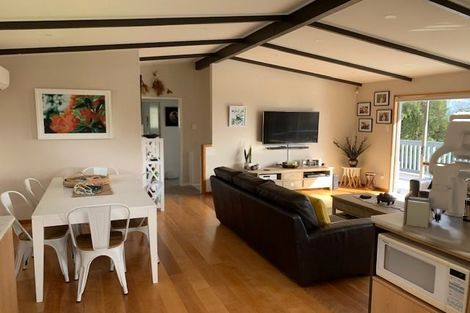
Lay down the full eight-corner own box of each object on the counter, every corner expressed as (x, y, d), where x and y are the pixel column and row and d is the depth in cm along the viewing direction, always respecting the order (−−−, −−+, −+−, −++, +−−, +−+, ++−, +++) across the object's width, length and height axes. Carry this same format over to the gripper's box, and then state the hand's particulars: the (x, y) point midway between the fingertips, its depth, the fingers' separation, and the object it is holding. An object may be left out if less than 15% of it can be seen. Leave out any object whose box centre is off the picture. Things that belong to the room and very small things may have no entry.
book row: (407, 222, 189) (409, 197, 187) (428, 225, 183) (430, 199, 181) (406, 224, 184) (407, 198, 183) (427, 228, 178) (429, 201, 177)
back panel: (408, 216, 200) (410, 190, 199) (410, 216, 200) (412, 191, 198) (403, 224, 185) (404, 196, 183) (405, 224, 184) (406, 197, 183)
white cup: (427, 223, 183) (420, 205, 183) (416, 222, 190) (410, 205, 191) (438, 218, 185) (432, 200, 185) (427, 217, 192) (421, 200, 193)
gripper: (456, 188, 182) (454, 222, 183) (424, 185, 190) (422, 217, 192) (456, 190, 175) (453, 225, 177) (423, 186, 184) (420, 220, 185)
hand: (437, 221), depth 184 cm, fingers closed
